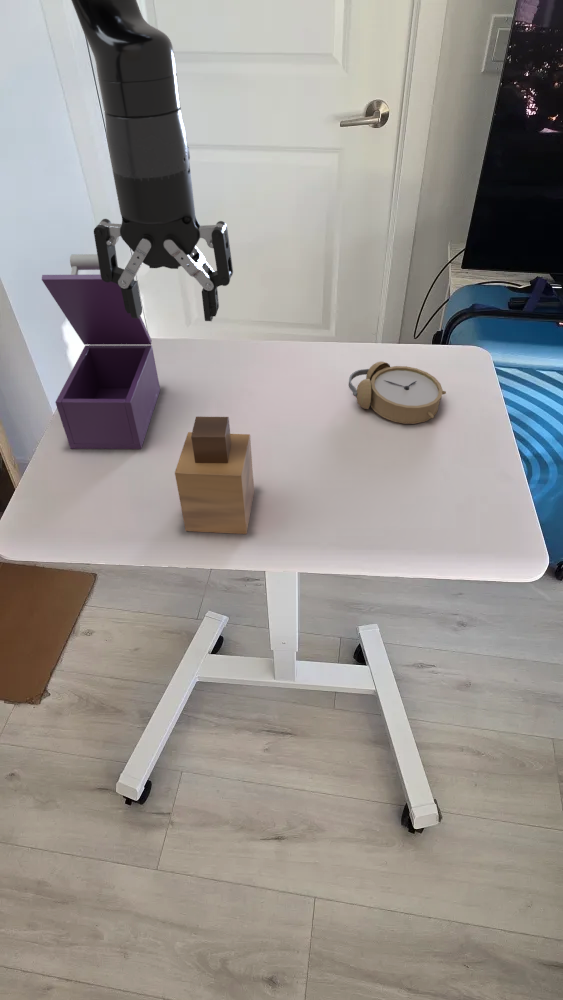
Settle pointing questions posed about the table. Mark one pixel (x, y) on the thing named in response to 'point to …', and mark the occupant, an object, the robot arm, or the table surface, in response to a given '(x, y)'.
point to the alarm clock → (398, 392)
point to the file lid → (95, 306)
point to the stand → (216, 489)
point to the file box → (109, 397)
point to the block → (211, 439)
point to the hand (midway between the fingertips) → (173, 316)
